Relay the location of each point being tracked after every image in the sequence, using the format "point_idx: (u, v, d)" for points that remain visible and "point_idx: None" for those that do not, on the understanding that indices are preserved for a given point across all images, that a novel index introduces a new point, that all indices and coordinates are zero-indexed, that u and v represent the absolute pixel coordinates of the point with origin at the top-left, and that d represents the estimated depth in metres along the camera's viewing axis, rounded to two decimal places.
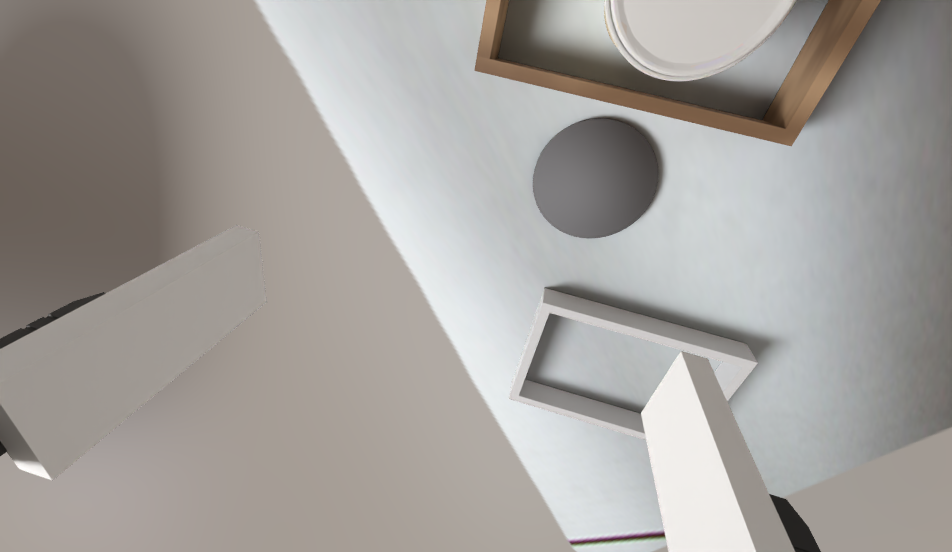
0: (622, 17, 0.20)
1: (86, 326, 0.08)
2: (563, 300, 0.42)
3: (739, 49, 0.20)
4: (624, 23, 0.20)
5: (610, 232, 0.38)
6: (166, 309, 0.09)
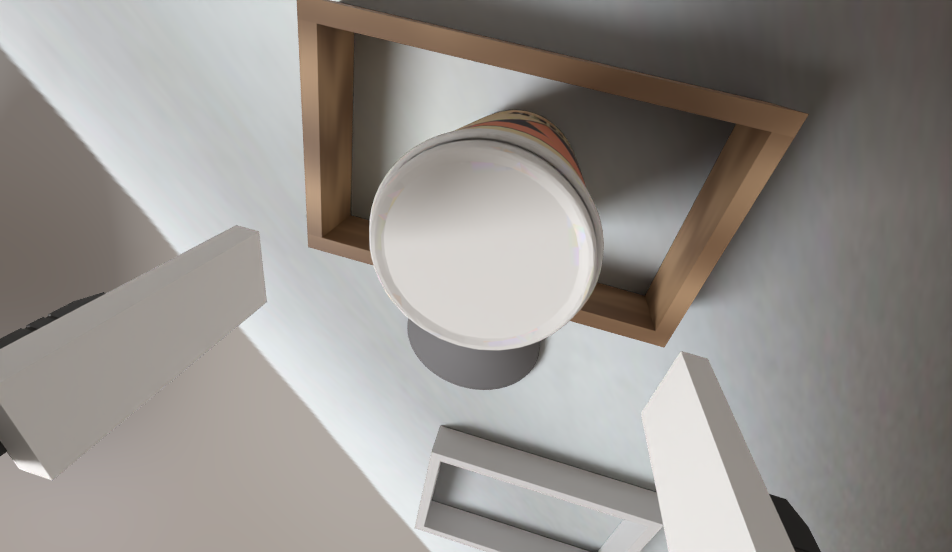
0: (392, 289, 0.16)
1: (86, 326, 0.08)
2: (457, 444, 0.38)
3: (534, 334, 0.16)
4: (396, 294, 0.17)
5: (497, 386, 0.34)
6: (166, 309, 0.09)
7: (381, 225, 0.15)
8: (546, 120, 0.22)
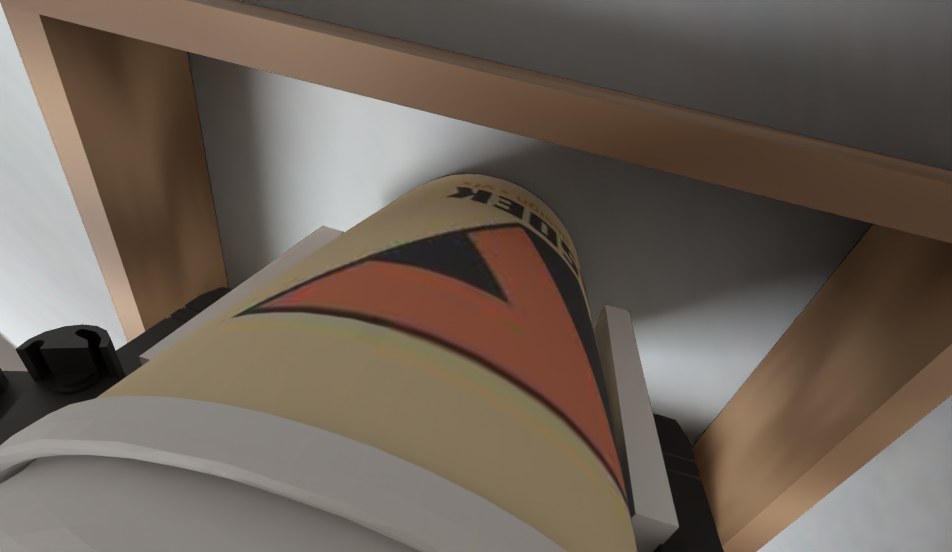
0: None
1: None
2: None
3: None
4: None
5: None
6: None
7: None
8: (525, 199, 0.12)
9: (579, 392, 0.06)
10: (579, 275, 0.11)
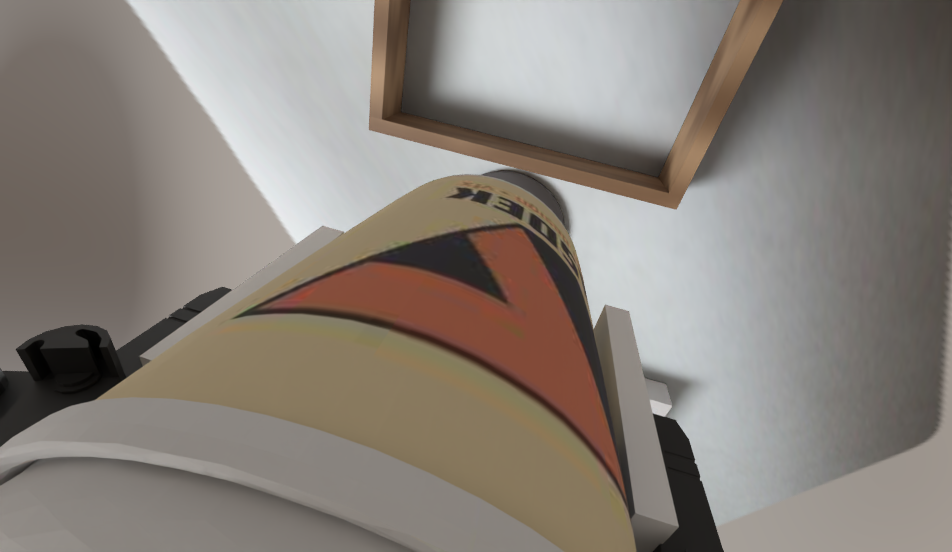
0: None
1: None
2: None
3: None
4: None
5: None
6: None
7: None
8: (525, 199, 0.12)
9: (578, 393, 0.06)
10: (579, 276, 0.11)
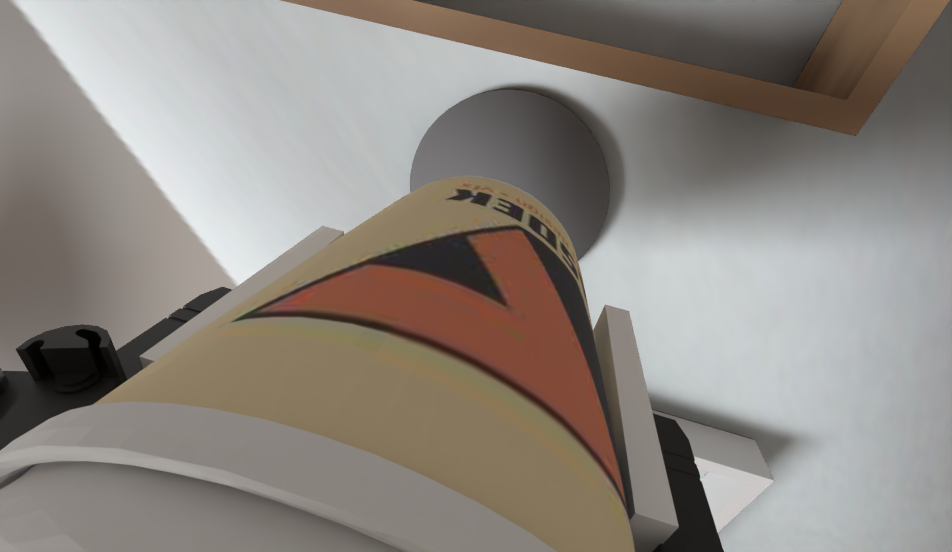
0: None
1: None
2: None
3: None
4: None
5: None
6: None
7: None
8: (525, 201, 0.12)
9: (578, 396, 0.06)
10: (578, 277, 0.11)
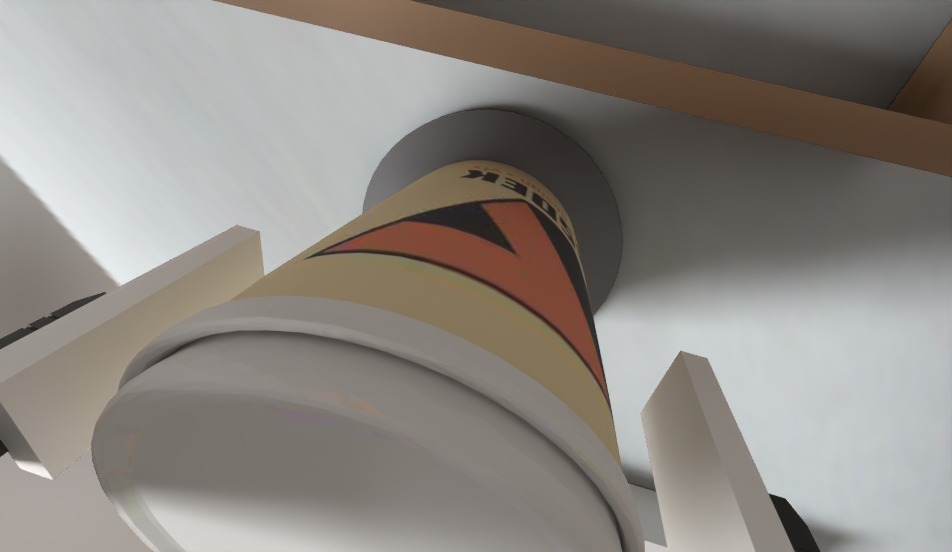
0: None
1: (87, 326, 0.08)
2: None
3: None
4: None
5: None
6: (166, 309, 0.09)
7: (125, 484, 0.06)
8: (528, 181, 0.13)
9: (572, 322, 0.07)
10: (575, 247, 0.12)
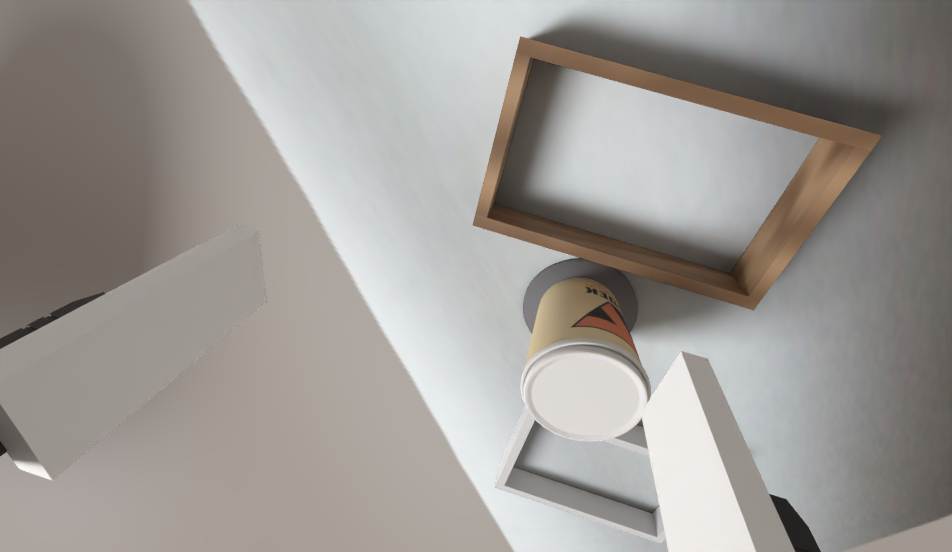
0: (531, 407, 0.30)
1: (86, 326, 0.08)
2: None
3: (609, 434, 0.30)
4: (533, 409, 0.30)
5: None
6: (166, 309, 0.09)
7: (534, 378, 0.28)
8: (604, 289, 0.36)
9: (632, 343, 0.30)
10: None
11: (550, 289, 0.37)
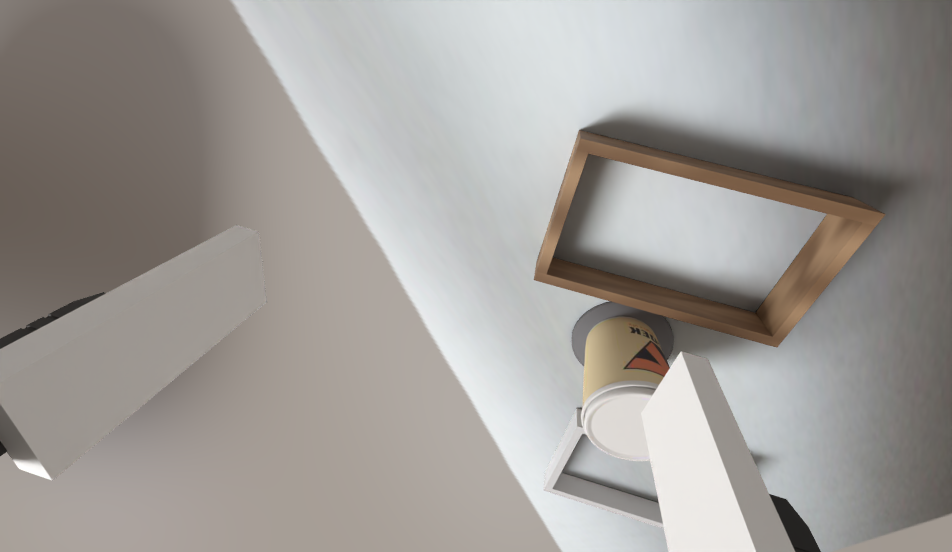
0: (591, 434, 0.36)
1: (86, 326, 0.08)
2: None
3: None
4: (592, 436, 0.36)
5: None
6: (165, 309, 0.09)
7: (594, 412, 0.35)
8: (645, 328, 0.42)
9: None
10: None
11: (597, 326, 0.43)
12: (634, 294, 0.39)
